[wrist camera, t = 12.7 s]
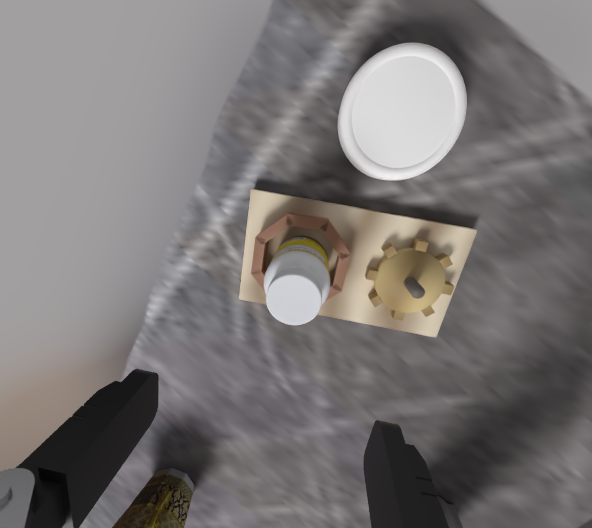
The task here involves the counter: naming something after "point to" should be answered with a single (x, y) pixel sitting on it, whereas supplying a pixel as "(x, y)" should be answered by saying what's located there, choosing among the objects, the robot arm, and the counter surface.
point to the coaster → (402, 111)
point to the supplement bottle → (297, 280)
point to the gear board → (362, 259)
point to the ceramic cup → (160, 502)
